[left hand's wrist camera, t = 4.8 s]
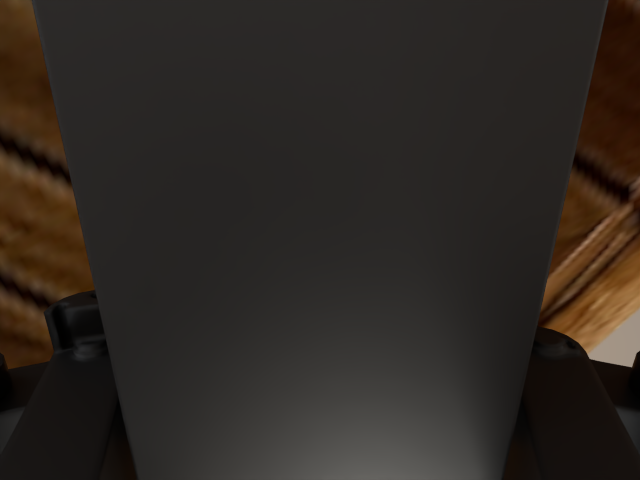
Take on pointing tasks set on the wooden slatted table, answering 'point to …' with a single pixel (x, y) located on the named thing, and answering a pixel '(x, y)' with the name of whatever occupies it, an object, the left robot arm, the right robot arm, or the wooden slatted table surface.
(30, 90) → the wooden slatted table surface
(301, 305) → the bar
